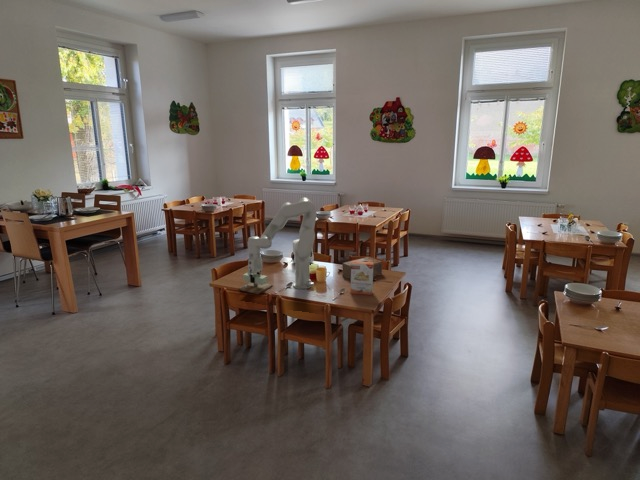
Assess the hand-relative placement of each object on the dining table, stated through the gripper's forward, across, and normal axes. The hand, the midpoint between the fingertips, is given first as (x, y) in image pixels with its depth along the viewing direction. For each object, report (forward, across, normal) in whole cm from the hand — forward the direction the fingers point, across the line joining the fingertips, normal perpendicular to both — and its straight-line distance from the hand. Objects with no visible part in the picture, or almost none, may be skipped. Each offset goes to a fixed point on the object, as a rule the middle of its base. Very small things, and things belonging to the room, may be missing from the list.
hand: (255, 281), depth 282 cm
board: (+5, 0, 0) cm, 5 cm away
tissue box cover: (+5, +60, -51) cm, 79 cm away
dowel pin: (+4, -6, +3) cm, 8 cm away
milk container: (+5, +62, +1) cm, 62 cm away
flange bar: (0, 0, 0) cm, 0 cm away
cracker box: (+5, +27, -65) cm, 71 cm away
